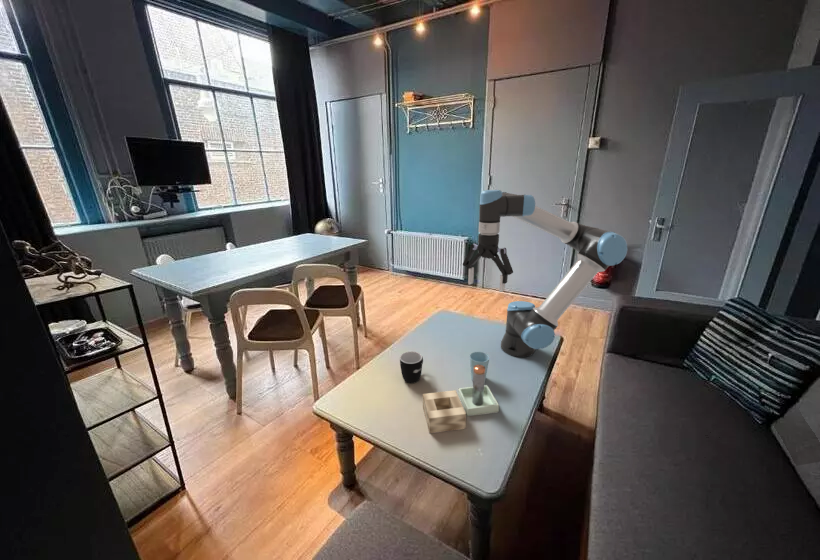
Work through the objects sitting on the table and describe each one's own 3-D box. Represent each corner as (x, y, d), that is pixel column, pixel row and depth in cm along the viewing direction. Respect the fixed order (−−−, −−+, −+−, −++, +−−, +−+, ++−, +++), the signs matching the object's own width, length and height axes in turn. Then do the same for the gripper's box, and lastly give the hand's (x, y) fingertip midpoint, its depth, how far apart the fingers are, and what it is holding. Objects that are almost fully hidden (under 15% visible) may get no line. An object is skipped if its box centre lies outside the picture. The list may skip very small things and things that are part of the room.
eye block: (455, 404, 118) (455, 390, 116) (465, 428, 107) (465, 413, 105) (422, 407, 117) (422, 393, 115) (429, 433, 105) (429, 418, 103)
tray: (486, 391, 124) (487, 385, 123) (498, 412, 114) (498, 405, 113) (458, 395, 123) (458, 388, 122) (467, 416, 112) (467, 408, 111)
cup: (467, 373, 135) (468, 351, 132) (485, 373, 135) (487, 351, 132) (470, 384, 128) (471, 362, 125) (489, 384, 128) (491, 361, 125)
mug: (413, 388, 127) (413, 366, 124) (396, 380, 132) (395, 358, 129) (431, 373, 136) (431, 352, 133) (414, 366, 141) (413, 345, 138)
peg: (470, 398, 120) (472, 365, 115) (481, 397, 120) (482, 364, 115) (474, 406, 116) (475, 371, 111) (484, 405, 116) (487, 370, 112)
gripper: (454, 231, 126) (453, 283, 132) (516, 239, 110) (511, 297, 117) (465, 228, 131) (463, 278, 138) (525, 235, 115) (520, 291, 122)
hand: (485, 287), depth 127 cm, fingers open, 13 cm apart
